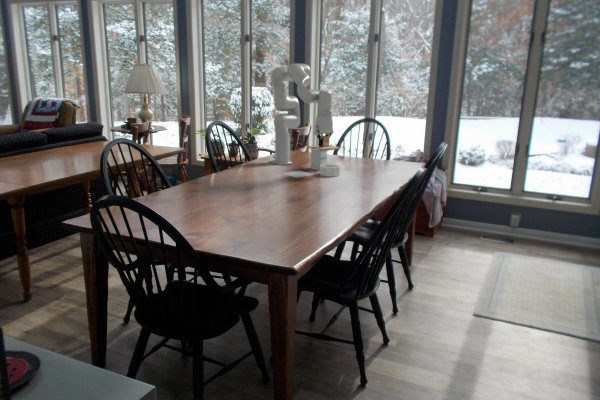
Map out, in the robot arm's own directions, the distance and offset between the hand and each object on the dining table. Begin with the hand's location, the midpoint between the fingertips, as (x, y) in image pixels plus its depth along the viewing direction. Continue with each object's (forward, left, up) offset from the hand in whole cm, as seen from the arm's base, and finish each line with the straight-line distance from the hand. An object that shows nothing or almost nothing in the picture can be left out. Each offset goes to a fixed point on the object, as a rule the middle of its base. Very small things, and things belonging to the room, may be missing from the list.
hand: (323, 145), depth 284 cm
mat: (-10, -11, -18) cm, 23 cm away
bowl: (+2, +3, -18) cm, 18 cm away
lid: (0, 0, -2) cm, 2 cm away
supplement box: (-14, +9, -18) cm, 24 cm away
